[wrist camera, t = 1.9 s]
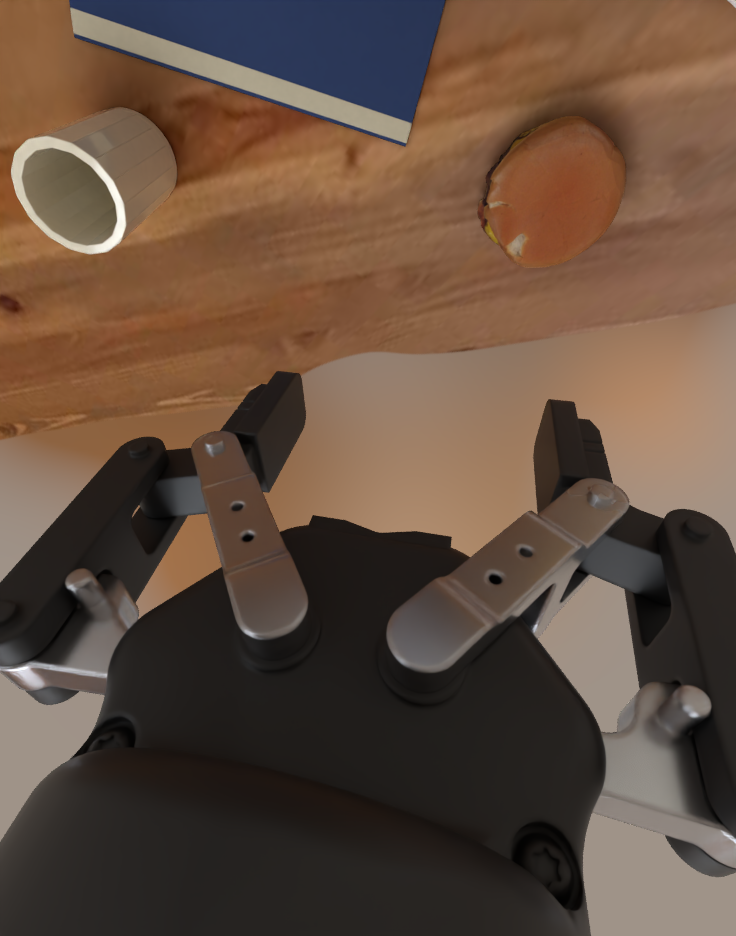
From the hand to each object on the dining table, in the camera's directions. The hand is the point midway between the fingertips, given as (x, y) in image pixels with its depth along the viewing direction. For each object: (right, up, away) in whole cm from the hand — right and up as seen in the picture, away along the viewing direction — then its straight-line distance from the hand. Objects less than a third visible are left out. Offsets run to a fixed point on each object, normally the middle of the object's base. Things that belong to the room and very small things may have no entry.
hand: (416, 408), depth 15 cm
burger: (+12, +19, +20) cm, 30 cm away
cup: (-19, +21, +19) cm, 34 cm away
